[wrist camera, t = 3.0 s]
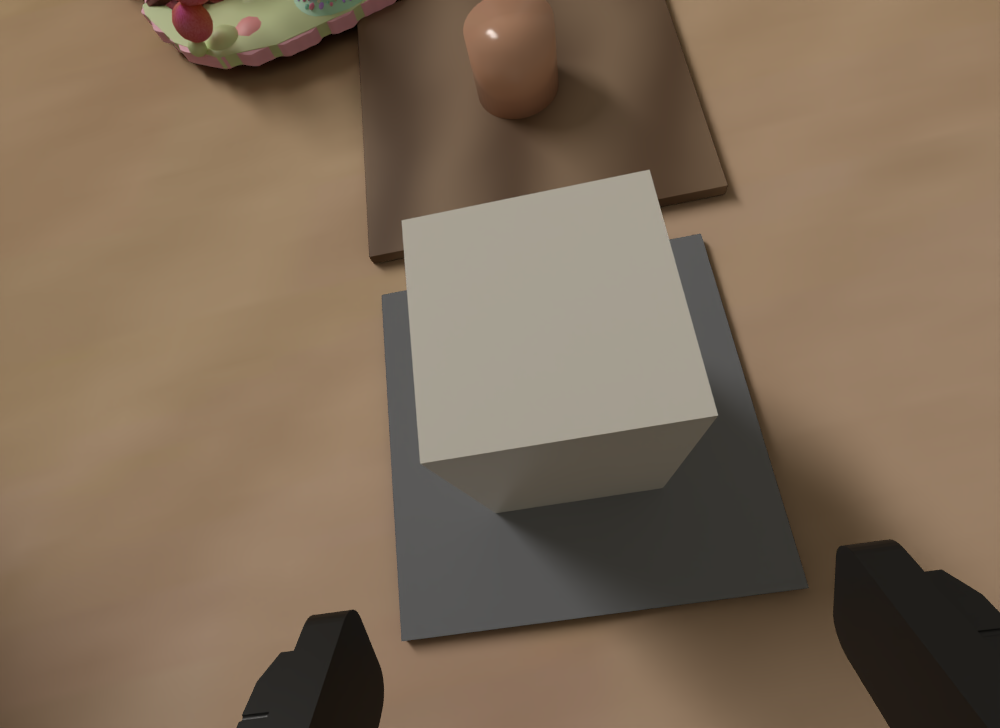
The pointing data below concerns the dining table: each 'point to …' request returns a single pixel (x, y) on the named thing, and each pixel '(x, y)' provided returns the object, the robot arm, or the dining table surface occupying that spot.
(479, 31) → the glossy tan pebble
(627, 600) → the mat
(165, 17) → the pastel sphere sculpture
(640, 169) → the board
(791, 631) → the dining table surface
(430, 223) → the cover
